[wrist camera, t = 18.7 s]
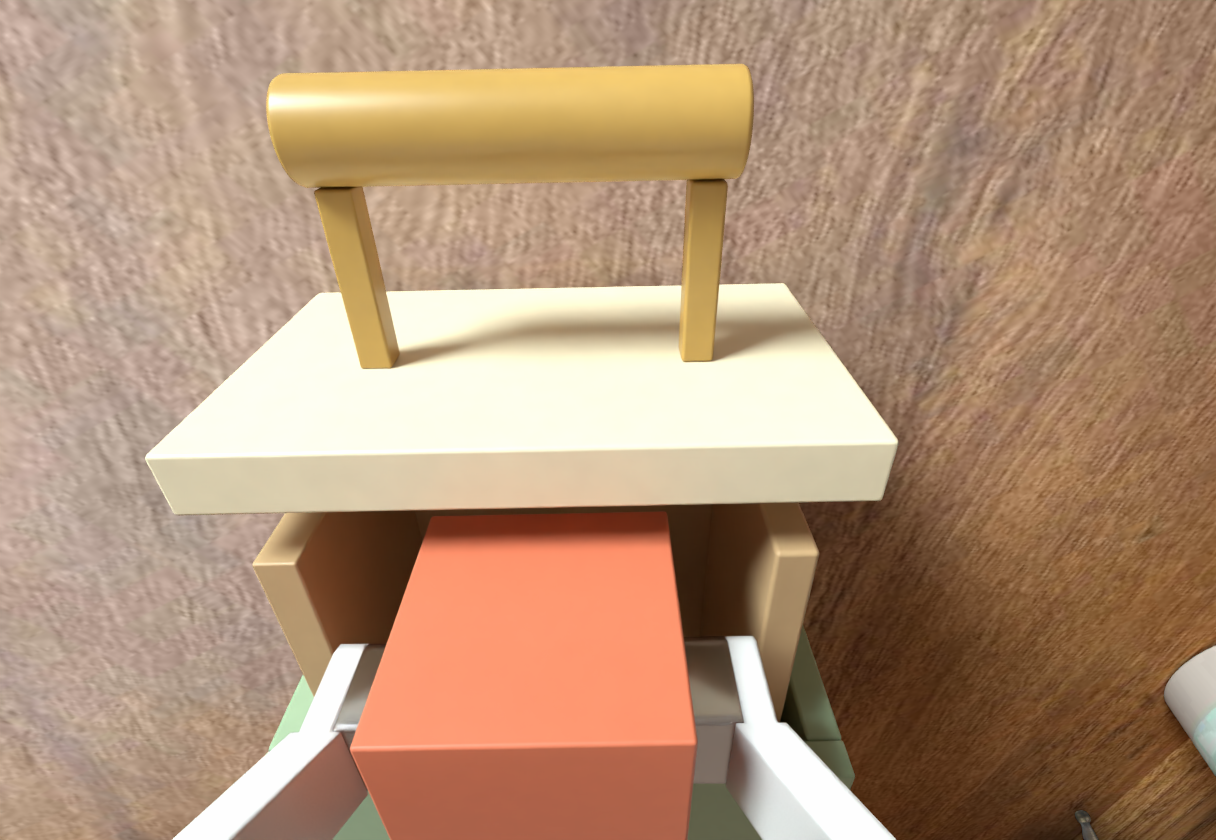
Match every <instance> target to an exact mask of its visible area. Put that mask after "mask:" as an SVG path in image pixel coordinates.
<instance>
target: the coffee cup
mask: <svg viewBox="0 0 1216 840" xmlns="http://www.w3.org/2000/svg"><path fill="white" fill-rule="evenodd" d="M1164 698H1165V701H1166V703H1167V705H1168V706H1169V708H1170V709H1171V711H1172V712H1173V714H1174V715H1175V717H1176V718H1177V720H1178V721H1179V723H1180V724H1181V726H1182V727H1183V729H1184V730H1185V732H1186V733H1187V735H1188V736H1189V738H1190V739H1191V741H1192V742H1193V744H1194V745H1195V747H1196V748H1197V750H1198V751H1199V753H1200V754H1201V756H1202V757H1203V759H1204V760H1205V761H1206V763H1207V764H1208V766H1209V767H1210V769H1211V770H1212V772H1213V773H1214V775H1215V776H1216V645H1215V646H1213V647H1211V648H1209V649H1207V650H1205V651H1203V652H1201V653H1200V654H1198V655H1196V656H1195V657H1193V658H1192V659H1190V660H1189V661H1188V662H1186V663H1185V664H1184V665H1182V666H1181V667H1180V668H1179V669H1178V670H1177V671H1176V672H1175V673H1174V674H1173V675H1172V677H1171V678H1170V680H1169V681H1168V683H1167V685H1166V688H1165V692H1164Z"/></svg>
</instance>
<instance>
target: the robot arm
mask: <svg viewBox="0 0 1216 840" xmlns="http://www.w3.org/2000/svg"><path fill="white" fill-rule="evenodd" d="M684 643H685V650H686V658H687V665H688V672H689V680H690V687H691V695H692V702H693V710H694V717H695V725H696V732H697V739H698V744H697V754H696V763H695V773H694V782H693V784H726V788H727V789H728V791H729V792H730V794H731V795H732V796H733V798H734V799H735V801H736V802H737V804H738V805H739V807H740V808H741V810H742V811H743V813H744V814H745V815H746V817H747V818H748V820H749V821H750V823H751V824H752V826H753V827H754V829H755V830H756V832H757V833H758V834H759V836H760V837H761V839H762V840H896V839H895V838H894V837H893V835H892V834H891V833H890V832H889V831H888V830H887V829H886V828H885V827H884V826H883V825H882V824H881V823H880V822H879V821H878V820H877V818H876V817H875V816H874V815H873V814H872V813H871V812H870V811H869V810H868V809H867V808H866V807H865V806H864V805H863V804H862V802H861V801H860V800H859V799H858V798H857V797H856V796H855V795H854V794H853V793H852V792H851V791H850V790H849V789H848V788H847V787H846V785H845V784H844V783H843V782H842V781H841V780H840V779H839V778H838V777H837V776H836V775H835V774H834V773H833V772H832V771H831V769H830V768H829V767H828V766H827V765H826V764H825V763H824V762H823V761H822V760H821V759H820V758H819V757H818V756H817V755H816V754H815V752H814V751H813V750H812V749H811V748H810V747H809V746H808V745H807V744H806V743H805V742H804V741H803V740H802V739H801V738H800V736H799V735H798V734H797V733H796V732H795V731H794V730H793V729H792V728H791V727H790V726H789V725H788V724H787V723H780V722H778V721H777V717H776V713H775V709H774V705H773V702H772V698H771V694H770V690H769V686H768V682H767V678H766V675H765V671H764V667H763V663H762V659H761V655H760V651H759V648H758V644H757V641H756V639H755V638H754V636H727V637H724V636H701V637H684ZM385 647H386V644H341V645H340V646H339V647H338V648H337V649H336V651H335V652H334V653H333V655H332V657H331V660H330V662H329V664H328V667H327V669H326V671H325V674H324V676H323V678H322V680H321V683H320V685H319V687H318V690H317V692H316V694H315V697H314V699H313V701H312V703H311V706H310V708H309V710H308V713H307V715H306V717H305V720H304V722H303V724H302V726H301V729H300V731H299V732H294V733H290V734H288V735H287V736H286V737H285V738H284V739H283V740H282V741H281V742H280V743H278V744H277V745H276V746H275V747H274V748H273V749H272V750H271V751H270V752H268V753H267V754H266V755H265V756H264V757H263V758H262V759H261V760H260V761H259V762H257V763H256V764H255V765H254V766H253V767H252V768H251V769H250V770H249V771H247V772H246V773H245V774H244V775H243V776H242V777H241V778H240V779H239V780H237V781H236V782H235V783H234V784H233V785H232V786H231V787H230V788H229V789H228V790H226V791H225V792H224V793H223V794H222V795H221V796H220V797H219V798H218V799H216V800H215V801H214V802H213V803H212V804H211V805H210V806H209V807H208V808H206V809H205V810H204V811H203V812H202V813H201V814H200V815H199V816H198V817H196V818H195V819H194V820H193V821H192V822H191V823H190V824H189V825H188V826H187V827H185V828H184V829H183V830H182V831H181V832H180V833H179V834H178V835H177V836H175V837H174V838H173V839H172V840H332V839H333V838H334V837H335V836H336V834H337V833H338V832H339V831H340V829H341V828H342V827H343V826H344V824H345V823H346V822H347V820H348V819H349V818H350V817H351V815H352V814H353V813H354V812H355V810H356V809H357V808H358V807H359V805H360V804H361V803H362V802H363V800H364V799H365V798H366V797H367V795H368V792H367V791H368V789H367V787H366V785H365V783H364V781H363V778H362V776H361V774H360V772H359V770H358V767H357V765H356V763H355V761H354V758H353V756H352V754H351V752H350V747H351V744H352V741H353V738H354V735H355V733H356V730H357V727H358V724H359V721H360V718H361V716H362V713H363V710H364V707H365V704H366V701H367V698H368V696H369V693H370V690H371V687H372V684H373V681H374V679H375V676H376V673H377V670H378V667H379V664H380V662H381V659H382V656H383V653H384V650H385Z"/></svg>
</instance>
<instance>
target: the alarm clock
mask: <svg viewBox="0 0 1216 840" xmlns="http://www.w3.org/2000/svg"><path fill="white" fill-rule="evenodd" d="M1075 817H1076V819H1077V821H1078V822H1079V823H1080V824H1081V826H1082V835H1083V840H1099V839H1098V837H1097V835H1096V834H1095V832H1094V830H1093V829H1092V827H1091V825H1090V822H1091V818H1090V815H1089V814H1088V813H1087V812H1086V811H1083V810H1079V811H1077V812H1075Z"/></svg>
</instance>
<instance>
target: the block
mask: <svg viewBox="0 0 1216 840" xmlns="http://www.w3.org/2000/svg"><path fill="white" fill-rule="evenodd" d="M697 744H698V739H697V732H696V725H695V717H694V710H693V702H692V695H691V687H690V680H689V672H688V665H687V658H686V650H685V643H684V635H683V628H682V620H681V613H680V605H679V598H678V591H677V583H676V576H675V568H674V561H673V553H672V546H671V538H670V531H669V524H668V516H667V513H666V512H664V511H659V512H611V513H563V514H515V515H467V516H433V517H431V519H430V522H429V525H428V528H427V531H426V534H425V536H424V539H423V542H422V545H421V548H420V551H419V553H418V556H417V559H416V562H415V565H414V568H413V571H412V573H411V576H410V579H409V582H408V585H407V588H406V590H405V593H404V596H403V599H402V602H401V605H400V607H399V610H398V613H397V616H396V619H395V622H394V625H393V627H392V630H391V633H390V636H389V639H388V642H387V644H386V647H385V650H384V653H383V656H382V659H381V662H380V664H379V667H378V670H377V673H376V676H375V679H374V681H373V684H372V687H371V690H370V693H369V696H368V698H367V701H366V704H365V707H364V710H363V713H362V716H361V718H360V721H359V724H358V727H357V730H356V733H355V735H354V738H353V741H352V744H351V747H350V752H351V754H352V756H353V758H354V761H355V763H356V765H357V767H358V770H359V772H360V774H361V776H362V778H363V781H364V783H365V785H366V787H367V789H368V792H369V794H370V796H371V798H372V800H373V803H374V805H375V807H376V809H377V811H378V814H379V816H380V818H381V820H382V823H383V825H384V827H385V829H386V831H387V834H388V836H389V838H390V840H687V839H688V829H689V820H690V810H691V801H692V791H693V782H694V773H695V763H696V754H697Z"/></svg>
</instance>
